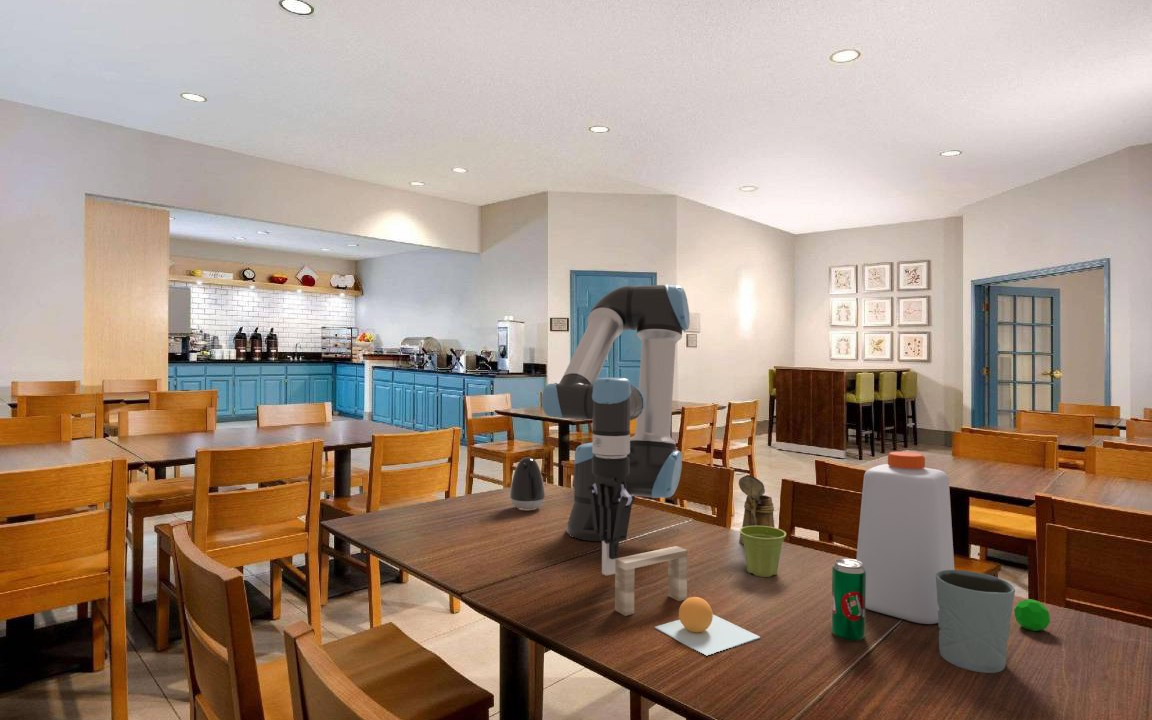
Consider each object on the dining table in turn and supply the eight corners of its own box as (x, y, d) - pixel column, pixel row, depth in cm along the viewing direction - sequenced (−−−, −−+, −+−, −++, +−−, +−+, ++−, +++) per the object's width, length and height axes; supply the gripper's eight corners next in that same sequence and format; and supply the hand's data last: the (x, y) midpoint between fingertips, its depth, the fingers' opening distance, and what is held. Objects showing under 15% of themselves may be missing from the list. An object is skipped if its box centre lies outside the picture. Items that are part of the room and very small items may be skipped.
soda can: (836, 626, 108) (838, 555, 108) (868, 634, 105) (869, 562, 105) (827, 636, 104) (828, 563, 104) (859, 645, 101) (860, 570, 101)
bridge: (614, 610, 114) (615, 558, 114) (675, 593, 122) (676, 545, 122) (625, 615, 112) (625, 563, 112) (686, 599, 120) (687, 550, 120)
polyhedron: (1034, 636, 105) (1034, 608, 105) (1006, 624, 110) (1007, 596, 110) (1057, 633, 106) (1058, 605, 106) (1029, 621, 111) (1029, 594, 111)
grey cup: (919, 650, 100) (921, 573, 100) (963, 639, 104) (965, 565, 104) (983, 681, 91) (985, 596, 90) (1029, 668, 95) (1030, 587, 94)
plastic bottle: (962, 606, 117) (964, 454, 117) (937, 631, 107) (939, 463, 106) (876, 585, 128) (878, 445, 128) (845, 605, 117) (847, 453, 117)
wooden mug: (728, 549, 151) (729, 472, 151) (745, 535, 162) (746, 464, 162) (766, 555, 146) (767, 477, 146) (781, 541, 158) (782, 468, 157)
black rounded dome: (505, 512, 183) (505, 459, 183) (514, 504, 193) (515, 454, 193) (540, 514, 181) (540, 460, 181) (548, 506, 191) (548, 455, 191)
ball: (698, 625, 101) (682, 641, 104) (724, 619, 104) (707, 635, 107) (683, 593, 105) (667, 609, 108) (708, 588, 107) (693, 604, 111)
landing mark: (654, 627, 107) (654, 626, 107) (706, 612, 114) (706, 611, 114) (706, 656, 97) (706, 655, 97) (760, 638, 103) (760, 636, 103)
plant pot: (788, 582, 129) (788, 539, 129) (740, 578, 131) (740, 536, 131) (782, 567, 138) (783, 527, 138) (737, 563, 140) (738, 524, 140)
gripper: (577, 452, 131) (575, 567, 131) (615, 461, 120) (614, 587, 120) (606, 449, 135) (605, 561, 135) (646, 458, 124) (645, 579, 124)
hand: (609, 573), depth 128 cm, fingers closed
